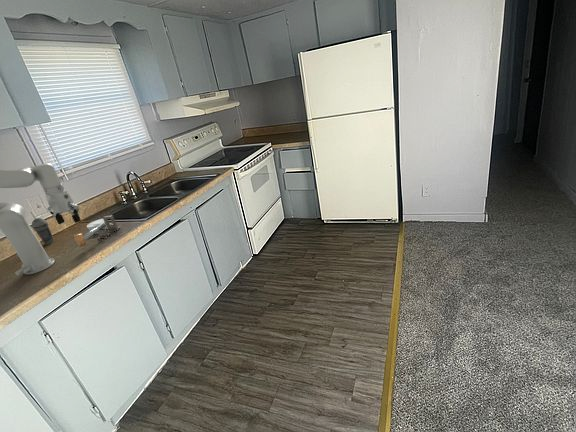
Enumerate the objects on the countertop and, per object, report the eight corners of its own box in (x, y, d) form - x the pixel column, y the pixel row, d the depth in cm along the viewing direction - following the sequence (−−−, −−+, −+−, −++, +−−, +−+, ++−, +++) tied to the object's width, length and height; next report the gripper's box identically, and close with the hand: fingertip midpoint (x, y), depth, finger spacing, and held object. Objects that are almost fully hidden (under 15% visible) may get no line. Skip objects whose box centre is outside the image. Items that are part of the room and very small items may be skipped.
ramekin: (88, 236, 175) (84, 228, 173) (92, 229, 185) (89, 221, 183) (108, 231, 177) (105, 223, 175) (112, 224, 187) (109, 216, 185)
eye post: (115, 231, 174) (108, 217, 170) (107, 232, 175) (100, 218, 172) (120, 227, 178) (114, 214, 175) (112, 228, 180) (106, 214, 176)
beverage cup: (49, 245, 173) (31, 213, 165) (39, 246, 175) (21, 215, 167) (60, 239, 179) (43, 208, 171) (50, 239, 181) (33, 209, 173)
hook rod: (83, 246, 154) (77, 236, 152) (77, 247, 155) (72, 236, 152) (110, 228, 172) (105, 219, 169) (104, 229, 173) (100, 219, 170)
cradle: (105, 238, 167) (102, 230, 166) (98, 239, 168) (94, 231, 167) (110, 234, 171) (107, 227, 169) (103, 235, 172) (99, 228, 170)
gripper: (75, 185, 145) (90, 217, 152) (46, 189, 149) (61, 220, 156) (62, 190, 139) (78, 224, 145) (32, 194, 142) (49, 226, 149)
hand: (69, 222), depth 150 cm, fingers open, 9 cm apart
